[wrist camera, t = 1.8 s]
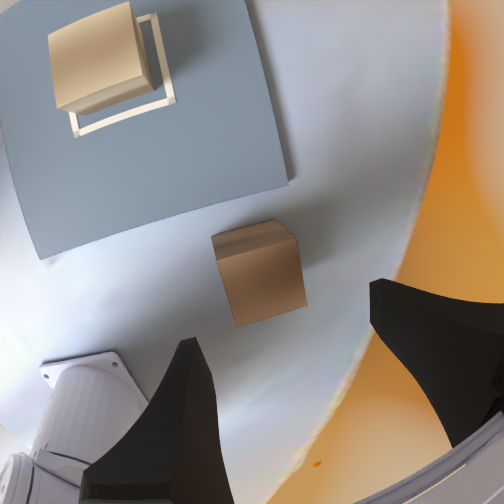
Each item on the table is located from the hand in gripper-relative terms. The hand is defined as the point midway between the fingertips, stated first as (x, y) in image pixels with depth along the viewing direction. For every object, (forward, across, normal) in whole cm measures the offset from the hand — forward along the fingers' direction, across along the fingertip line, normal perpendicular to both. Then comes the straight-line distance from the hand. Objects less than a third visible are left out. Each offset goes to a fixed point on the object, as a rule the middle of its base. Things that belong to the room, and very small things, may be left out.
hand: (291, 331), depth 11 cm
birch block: (+7, +5, -13) cm, 16 cm away
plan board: (+8, +5, -13) cm, 16 cm away
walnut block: (+8, 0, 0) cm, 8 cm away
